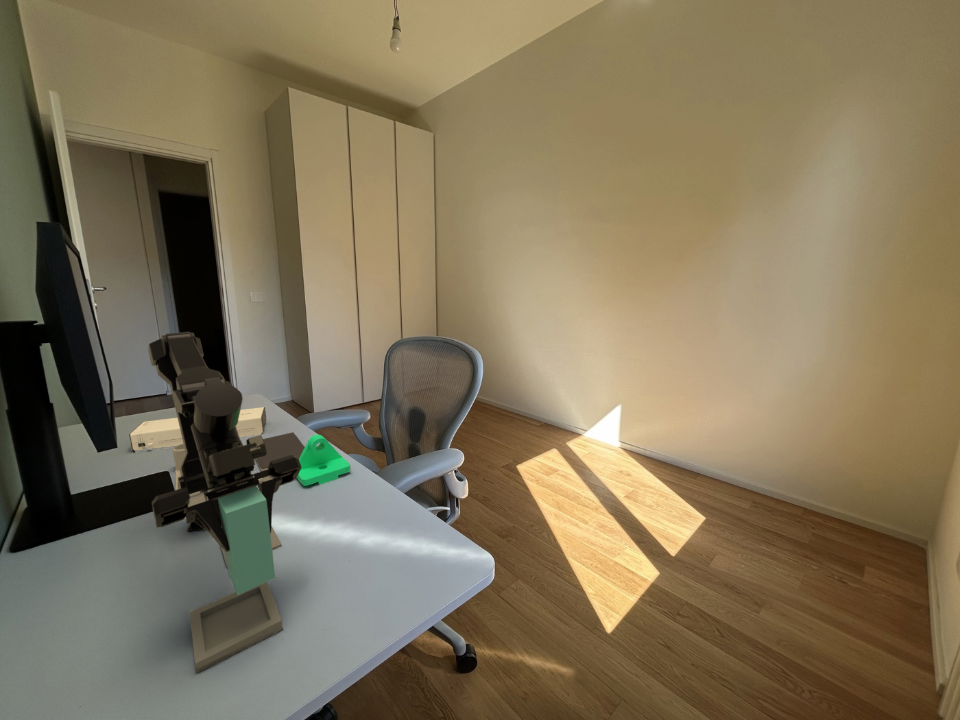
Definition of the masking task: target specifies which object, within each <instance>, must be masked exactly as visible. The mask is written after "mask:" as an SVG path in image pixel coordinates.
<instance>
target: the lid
mask: <svg viewBox="0 0 960 720" xmlns="http://www.w3.org/2000/svg"><path fill="white" fill-rule="evenodd" d="M270 536H271V544H272V551H273V550H274V551H275V550H277V549H278V548H281V547H282V546H283V545H282V542H281V540H280V539H279V537H278V535H277V533H276V531H275V529H274V528H273V526H271V533H270ZM219 547H220V550H221V552H222V556H223V559H224V562H225V565H226V569H227V570H228V565H227V559H226V552H225V550H224V549H223V548H222V547H221V546H220V545H219Z"/></svg>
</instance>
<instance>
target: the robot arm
mask: <svg viewBox="0 0 960 720" xmlns="http://www.w3.org/2000/svg"><path fill="white" fill-rule="evenodd" d="M204 356H205V355H204V351H203V346H202V343H201V339H200V338H199V337H196V336H195V333H194V332H190V331H185V332H184V331H183V332H182V331H181V332H172V333H171V332H170V333H165V334H163V335H160V338H159V339H156V340H155V341H152V342H150V343H149V344H148V357H149V362H150V365H151V366H152V367H155V369H156V373H157V375H158V376H159V378H161V379H162V380H163V381H165V382H166V383H167V385H169V387H170V392H171V396H172V400H173V403H174V405H173V406H174V408H175V413H176V418H178V422H179V426H180V431H181V435H182V439H183V444H184V448H185V452H186V455H185V457H184V459H183V462H182V464H181V466H180V474H181V477H178V490H176V489H175V490H171V491H169V492H165V493H163V494H159V495H156V496H155V497H154V498H153V500H152V501H151V506H152V512H153V517H154V522H155V525H156V528H163V527H166V526H169V525H172V524H175V523H178V522H180V521H181V522H182V521H184V520H185V522H186V524H189V525H188V526H187V528H186V531H187V532H194V531H200V530H205V531H206V532H207V533H208V534H209V535H210V536H211V537H212V538H213V539H214V540H215V541H216V543H217V544H218V545H219V547H220V546H221V547H222V548H223V549H224V550H225V552H228V551H229V550H230V548H229V544H228V540H227V537H226V535H225V533H224V531H223V528H222V524H221V517H220V510H219V504H218V498H220V497H223V496H227V495H230V494H233V493H236V492H239V491H242V490H245V489H248V488H252V487H255V486H257V488H258V489H259V490H260V492H261V493H262V494H263V496H264V497H265V498H266V501H267V510H268V518H269V527H270V533H271V526H272V521H273V520H272V519H273V518H272V517H273V514H272V513H273V500H274V494H275V493H277V492H278V490H279V489H280V486H284V485H287V484H289V483H292V482H294V481H295V480H297V479H298V478H297V476H298V474H299V472H300V470H301V468H302V467H301V464H300V462H299V459H298V458H297V457H295V456H294V455H289V456H286V457H283V458H280V459H276V460H273V461H270V464H269V467H268V469H267V470H265V471H261V470H260V471H258V472H256V473H252V472H254V470H255V466H256V458H259V457H263V456H265V455H266V454H267V451H266V447H265V443H264V441H263V439H264V438H263V436H262V434H261V435H255V436H251V437H249V438H248V439H246V444H243V442H242V440H241V437H239V434H238V431H237V428H236V425H237V423H238V419H239V414H240V410H242V404H243V394H242V392H241V391H240V390H239V389H238V388H237V387H236V386H234V385H233V384H232V383H230V381H226V379H225V378H224V376H223V375H222V374H221V372H220V371H218V370H215V369H212V368H209V367H208V366H207V364H206V361H205V359H204ZM272 527H273V526H272ZM221 547H220V548H221Z"/></svg>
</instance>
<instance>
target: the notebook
mask: <svg viewBox="0 0 960 720" xmlns="http://www.w3.org/2000/svg"><path fill="white" fill-rule="evenodd" d="M263 441H264V443H265V447H266V451H267V454H266V455H265V456H263V457H259V458H256V459H255V462H256V463H257V465H258V467H259V469H260V472H261V471H265V470H267V469H268V467H269V464H270V461H273V460H276V459H280V458H283V457H286V456H289V455H294V456H295V457H297V458H298V459H299V458H300V456H301V454H302V452H303V450H304V448H305V445H304V444H303V443H302V441H301V440H300V439H299V438H298V436H297V435H296V434H295V433H294V432H287V433H284V434H280V435H279V434H278V435H274V436H270V437H267V438H263Z"/></svg>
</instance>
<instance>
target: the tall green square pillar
mask: <svg viewBox="0 0 960 720" xmlns="http://www.w3.org/2000/svg"><path fill="white" fill-rule="evenodd" d="M218 504H219V510H220V517H221V524H222V528H223V531H224V533H225V535H226V537H227V540H228V544H229V548H230V550H229V551H228V552H226V559H227V565H228V569H227V571H228V578H229V579H230V581H231V582H230V583H231V584H232V586H233V588H234V592H236V593H237V595H240V594H242V593H244V592H246V591H248V590H250V589H252V588H254V587H256V586H259V585H261V584H263V583H265V582H269V581H271V580H273V579H275V578H276V572H275V564H274V562H275V561H274V555H273V554H274V553H273V550H272V544H271V536H270V527H269V518H268V510H267V501H266V498H265V497H264V496H263V494H262V493H261V492H260V490H259V488H258V486H255V487H252V488H248V489H245V490H242V491H239V492H236V493H233V494H230V495H227V496H223V497H220V498H218Z"/></svg>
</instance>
